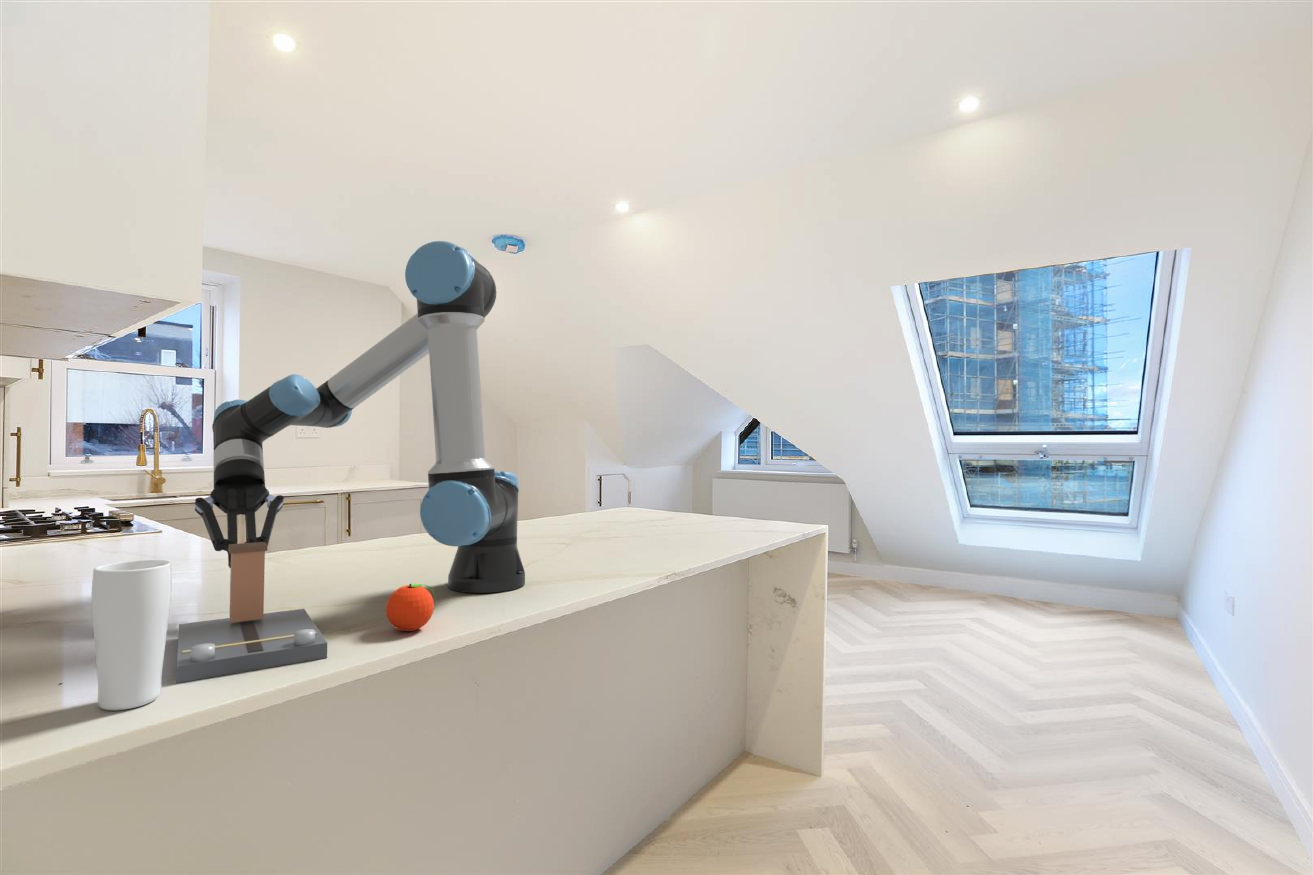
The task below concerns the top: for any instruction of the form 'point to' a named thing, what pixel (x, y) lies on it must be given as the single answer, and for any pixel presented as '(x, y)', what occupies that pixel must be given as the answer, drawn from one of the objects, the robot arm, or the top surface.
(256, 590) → the fader tab
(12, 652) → the top surface
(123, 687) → the white tumbler
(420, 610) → the clementine
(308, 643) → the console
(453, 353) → the robot arm
